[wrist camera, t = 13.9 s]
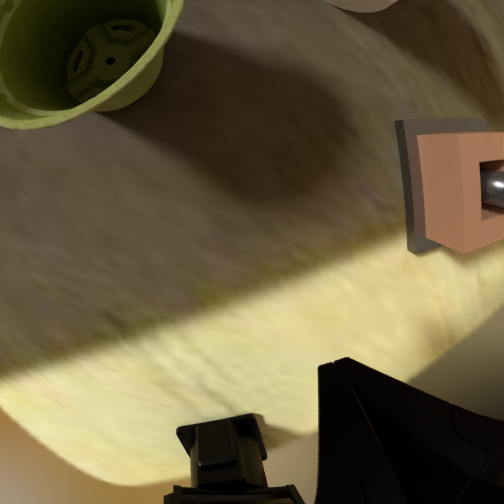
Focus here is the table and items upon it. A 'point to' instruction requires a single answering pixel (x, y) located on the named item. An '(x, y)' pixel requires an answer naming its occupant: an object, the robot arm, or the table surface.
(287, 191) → the table surface
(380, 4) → the cylinder with rectangular tab
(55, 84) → the plant pot
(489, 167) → the collar
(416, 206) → the grey base with peg
